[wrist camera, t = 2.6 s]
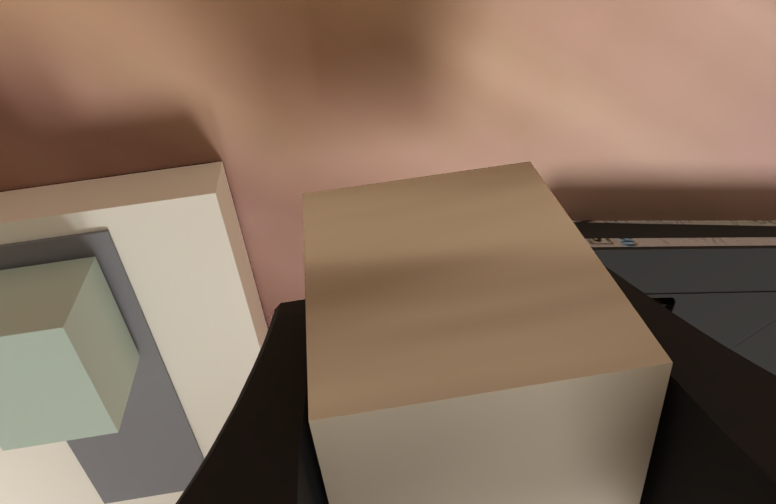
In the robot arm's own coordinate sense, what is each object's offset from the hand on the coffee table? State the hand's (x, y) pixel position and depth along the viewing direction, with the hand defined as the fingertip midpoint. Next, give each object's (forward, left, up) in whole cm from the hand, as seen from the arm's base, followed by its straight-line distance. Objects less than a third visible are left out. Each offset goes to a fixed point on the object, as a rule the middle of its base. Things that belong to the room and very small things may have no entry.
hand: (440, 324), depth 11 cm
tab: (-1, +8, -4) cm, 9 cm away
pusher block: (0, 0, -2) cm, 2 cm away
